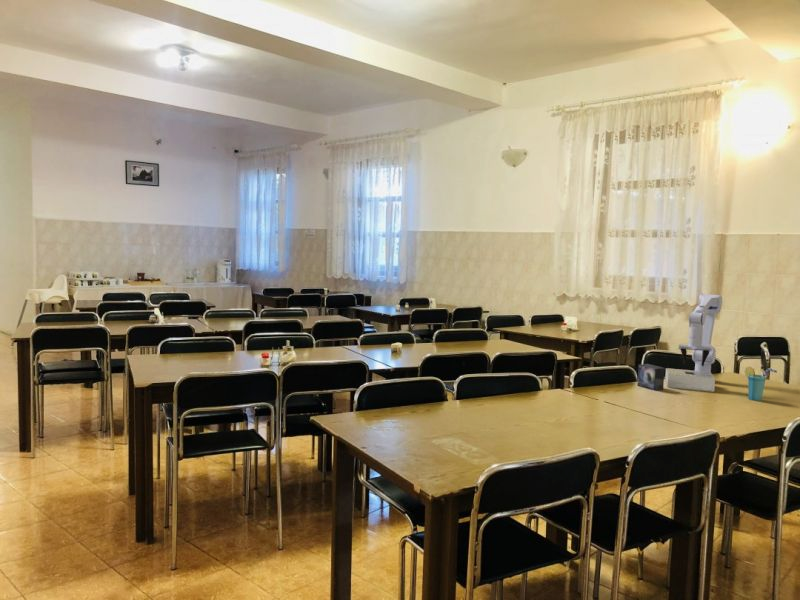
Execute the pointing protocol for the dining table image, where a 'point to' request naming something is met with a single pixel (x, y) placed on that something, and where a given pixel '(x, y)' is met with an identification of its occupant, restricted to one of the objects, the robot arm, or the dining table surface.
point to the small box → (651, 376)
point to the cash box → (690, 380)
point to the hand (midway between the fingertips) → (693, 365)
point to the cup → (756, 383)
